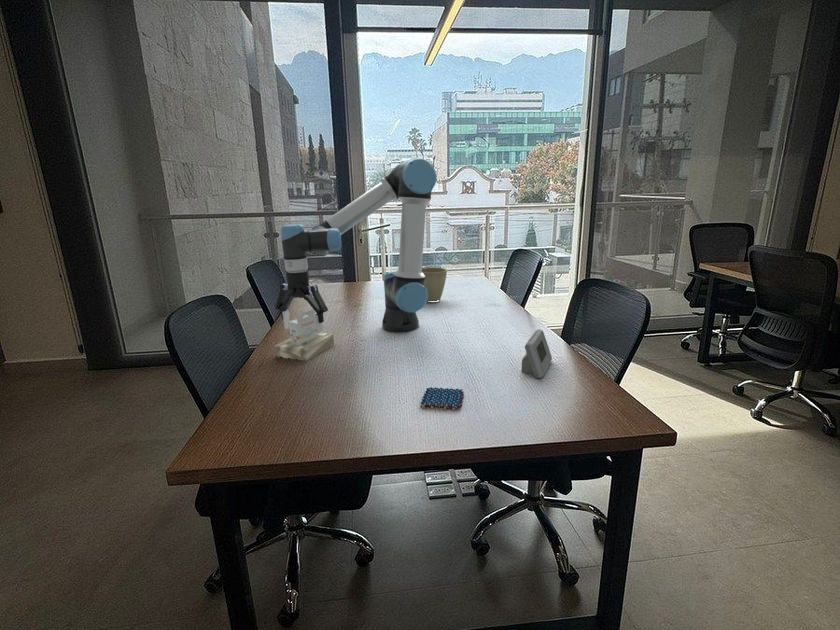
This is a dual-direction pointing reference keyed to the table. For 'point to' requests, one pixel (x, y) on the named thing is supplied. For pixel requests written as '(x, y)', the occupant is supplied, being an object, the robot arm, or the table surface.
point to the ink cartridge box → (303, 329)
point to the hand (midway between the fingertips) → (303, 329)
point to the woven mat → (442, 398)
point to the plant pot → (434, 282)
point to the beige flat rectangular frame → (304, 348)
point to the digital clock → (536, 355)
